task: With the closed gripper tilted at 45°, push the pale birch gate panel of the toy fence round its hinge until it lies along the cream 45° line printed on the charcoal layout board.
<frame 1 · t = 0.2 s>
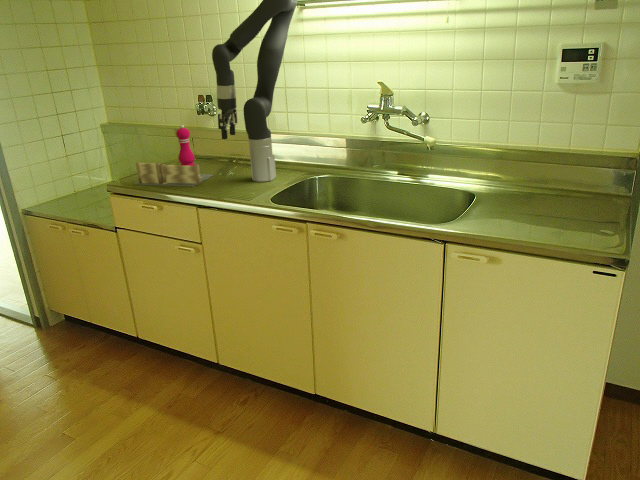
hand: (228, 137, 224), 18 cm above the worktop, tool pointing down, fingers open, 8 cm apart
pepper mill: (187, 168, 253), on the worktop
fence gate: (180, 173, 223), point 5 cm above the worktop, hinge at 0.0°
layout card: (165, 184, 227), on the worktop
fence frame: (149, 172, 227), on the layout card
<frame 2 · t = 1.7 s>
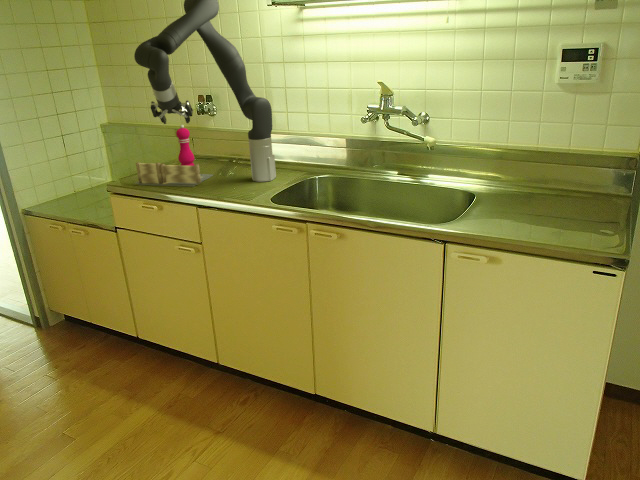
hand: (176, 121, 205), 27 cm above the worktop, tool tilted 45°, fingers open, 8 cm apart
nothing on the worktop moved.
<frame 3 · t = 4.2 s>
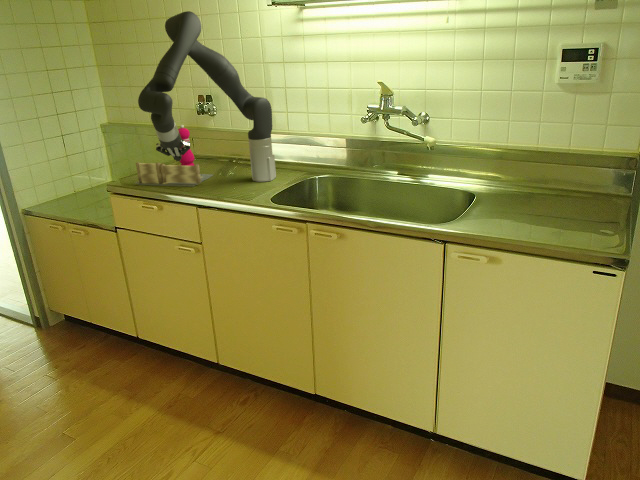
hand: (178, 159, 207), 14 cm above the worktop, tool tilted 45°, fingers closed
nothing on the worktop moved.
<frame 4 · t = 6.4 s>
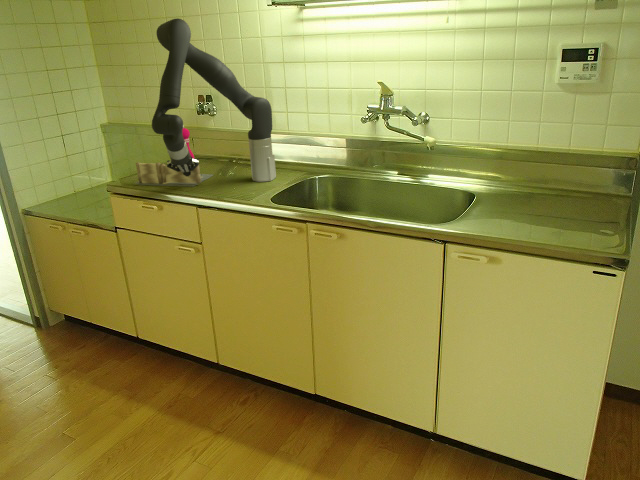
hand: (187, 174, 221), 5 cm above the worktop, tool tilted 45°, fingers closed
fence gate: (180, 173, 223), point 5 cm above the worktop, hinge at 0.1°, touching gripper
everything else where it was.
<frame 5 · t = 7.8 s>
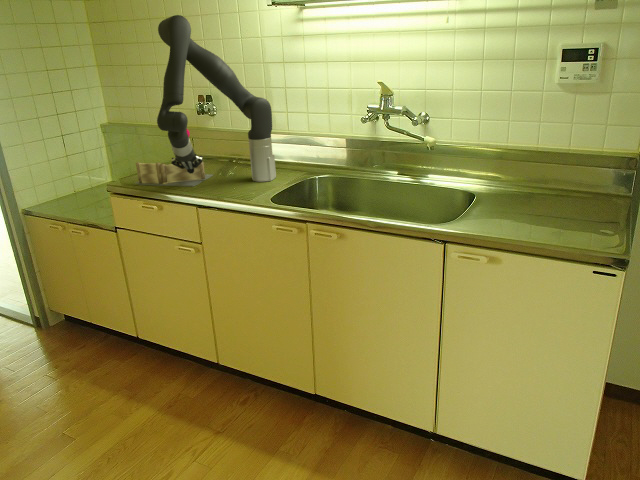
hand: (191, 171, 226), 5 cm above the worktop, tool tilted 45°, fingers closed
fence gate: (183, 171, 226), point 5 cm above the worktop, hinge at 25.3°, touching gripper
everything else where it was.
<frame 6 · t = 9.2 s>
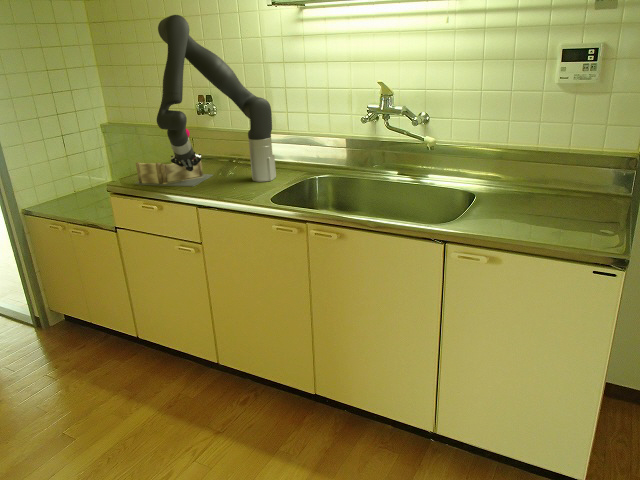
hand: (190, 169, 229), 5 cm above the worktop, tool tilted 45°, fingers closed
fence gate: (182, 169, 229), point 5 cm above the worktop, hinge at 48.0°, touching gripper
everything else where it was.
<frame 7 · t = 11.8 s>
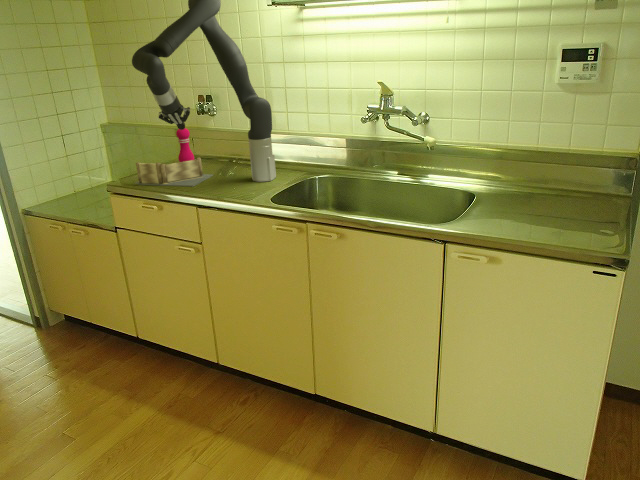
hand: (182, 128, 215), 23 cm above the worktop, tool tilted 40°, fingers closed
fence gate: (182, 169, 229), point 5 cm above the worktop, hinge at 48.1°
everything else where it was.
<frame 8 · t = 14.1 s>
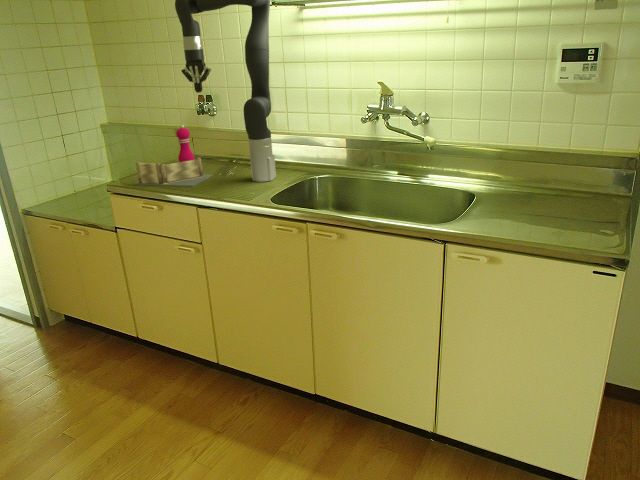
hand: (198, 92, 228), 35 cm above the worktop, tool pointing down, fingers closed
nothing on the worktop moved.
at the end: fence gate at +48° (first picture: +0°); pepper mill moved 0.2 cm from its start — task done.
